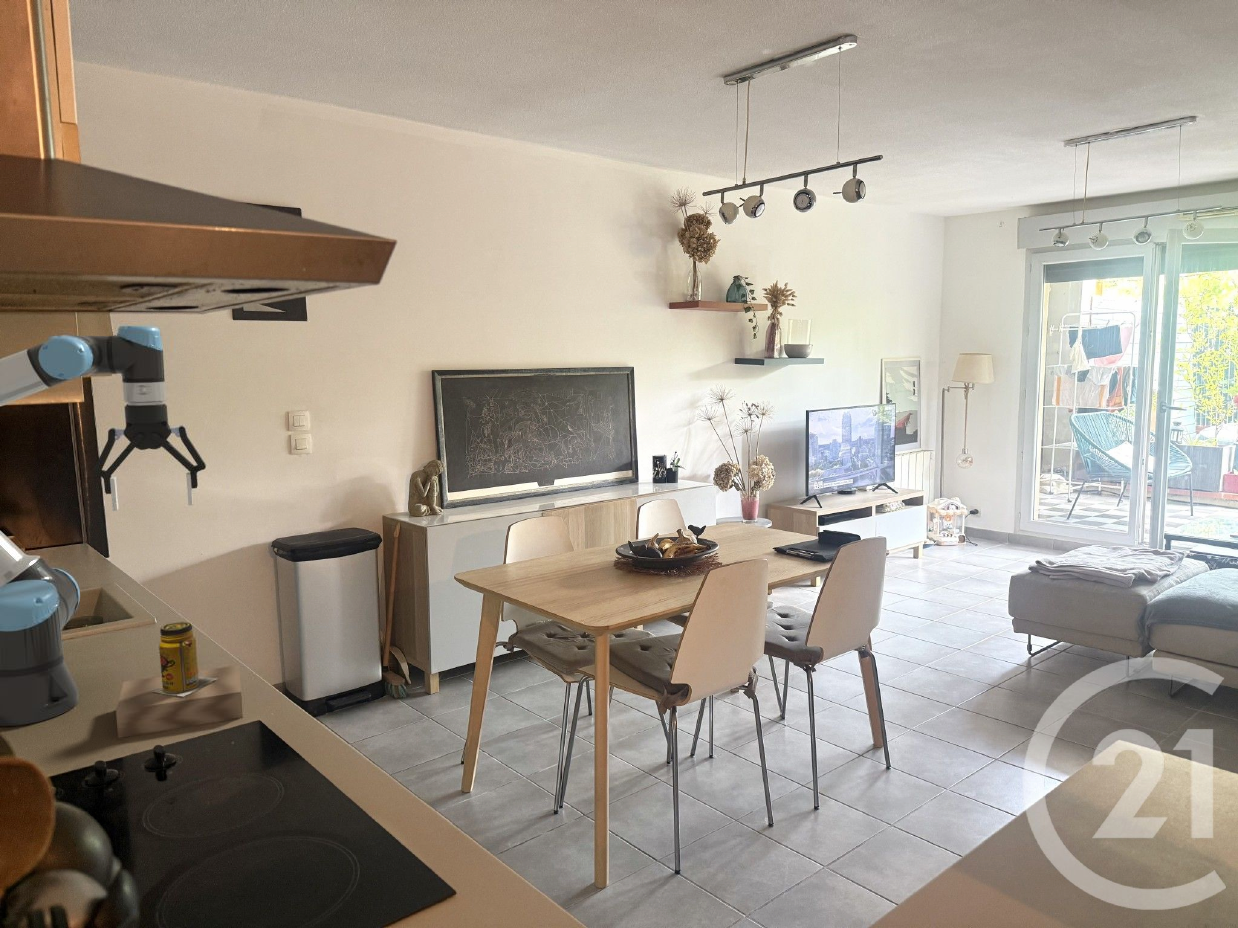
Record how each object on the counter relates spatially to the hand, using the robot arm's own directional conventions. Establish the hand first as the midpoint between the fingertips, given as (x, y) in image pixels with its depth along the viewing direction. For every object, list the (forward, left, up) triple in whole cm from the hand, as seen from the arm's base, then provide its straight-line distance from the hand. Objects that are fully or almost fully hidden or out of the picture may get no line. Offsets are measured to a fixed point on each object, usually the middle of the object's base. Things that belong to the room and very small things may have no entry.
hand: (153, 507), depth 178 cm
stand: (+4, -25, -35) cm, 43 cm away
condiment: (+5, -25, -30) cm, 39 cm away
